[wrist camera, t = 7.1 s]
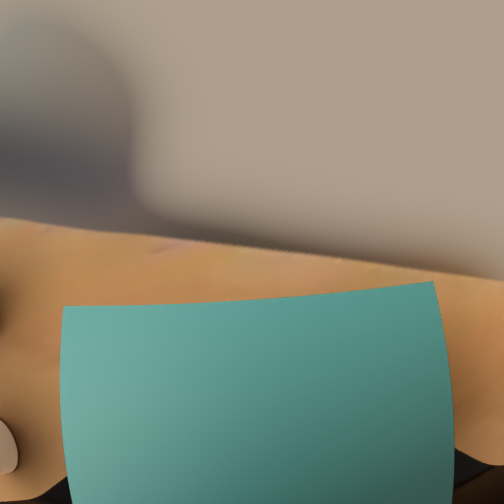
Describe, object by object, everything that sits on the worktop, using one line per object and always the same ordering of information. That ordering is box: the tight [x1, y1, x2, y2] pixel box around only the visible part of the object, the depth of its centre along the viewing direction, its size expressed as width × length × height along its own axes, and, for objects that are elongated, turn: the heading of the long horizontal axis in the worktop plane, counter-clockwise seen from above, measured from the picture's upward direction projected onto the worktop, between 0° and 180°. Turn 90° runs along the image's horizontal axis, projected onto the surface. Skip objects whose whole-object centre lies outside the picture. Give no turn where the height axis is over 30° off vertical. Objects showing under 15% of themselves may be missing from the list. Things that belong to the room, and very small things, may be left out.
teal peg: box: [60, 281, 454, 504], centre depth 8 cm, size 4×4×13 cm
